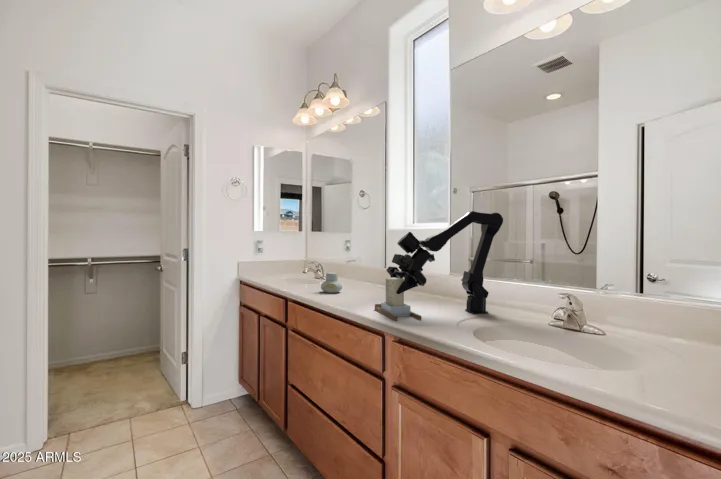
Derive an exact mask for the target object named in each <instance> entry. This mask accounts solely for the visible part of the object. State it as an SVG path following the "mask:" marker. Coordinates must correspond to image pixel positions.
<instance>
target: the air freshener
mask: <svg viewBox="0 0 721 479" xmlns="http://www.w3.org/2000/svg"><path fill="white" fill-rule="evenodd" d="M320 289H321V291H323V292H324V293H327V294H336V293H339V292H341V290H342V289H343V284H342V283H341V282H340V281H339V280H338V273H337V272H326V273H325V281H323V282H322V283H321V284H320Z"/></svg>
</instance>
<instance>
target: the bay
mask: <svg viewBox="0 0 721 479" xmlns="http://www.w3.org/2000/svg"><path fill="white" fill-rule="evenodd" d="M374 310H375V311H376V312H378V313H380V314H381V315H383V316H385V317H386V318H388V319H390V320H392V321H393V322H398V317H396V316H394V315H392V314H390V313H388V312H387V311H385V310H383V309H381V303H374ZM409 317H412V318H414V319H417V320H419V321H422V315H420V314H418V313H416V312H414V311H412V310H410V316H409Z"/></svg>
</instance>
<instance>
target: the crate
mask: <svg viewBox="0 0 721 479" xmlns="http://www.w3.org/2000/svg"><path fill="white" fill-rule="evenodd" d="M380 304H381V309H383V310H385V311H387V312H388V313H390V314H392V315H394V316H396V317H397V318H398V317H411V316H410V311H411V305H409V304H408V303H406V302H404V306H390V305H388V304H386V301H381V302H380Z"/></svg>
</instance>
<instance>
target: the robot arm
mask: <svg viewBox="0 0 721 479" xmlns="http://www.w3.org/2000/svg"><path fill="white" fill-rule="evenodd" d="M473 223H475V224H477V225H478V224H479V225H480V233H481V235H480V237H479V241H478V243H477V244H478V245H477V248H476V251H475V253H474V254H475V255H474V257H473V261H472V264H471V267H470V268H469V269H468V271H466V270H464V271H463V276H462V278H461V279H460V281H461V286H462V288H463V289H464V290H465V292H466V295H467V299H466V308H465V309H464V311H466V312H468V313H471V314H475V315H476V314H489V311H488V310H487V298H488V296H489V293H490V292H489V291H488V290H487V289H486V288H485V287H484V269H485V266H486V263H487V259H488V256H489V252H490V250H491V246H492V243H493V240H494V238H495V237H496V235H497V233H499V231H500V229H501V227H502V225H503V223H504V218H503V216H502V215H501V213H499V212H491V213H487V212H479V211H478V212H477V211H475V210H472V211H468V212H466V213H465V214H464V215H463V216H462V217H460V218H459V219H457V220H456V221H454V222H453V223H451V224H450V225H449V226H448V227H446V228H444V229H443V230H442V231H439V232H437V233H435V234H432V235H430V236H428V237H426V238H425V239H424V240H419V239H418V238H417V237H416V236H415V235H414V234H413V233H412V232H411V231H408V232H407V233H406V234H405V235H403V236H402V237H400V239H399V240H398V241H397V243H396V244H397V246H399V247H400V248H401V249H402V250H403V251H404V252H405V254H398V253H394V255H393V257H392V260H391V263H393V264H396V265H397V266H398V267H397V266H388V267H387V269H386V273H387V274H389V276H390V278H393V277H395V278H402V279H404V281H403V282H402V284H401V285H400V287H399V288H398V290H397V292H396V293H397V294H400V293H402V292H404V293H405V292H406V291H409V290H411V289H414V288H416V287H417V288H418V287H419V286H421V287H424V286H425V285H426V284H427V277H426V276H425V275H424V273H423V271H424V269H423V267H424V266H425V265H426V264H427V262H429V263H432V262H435V261H436V258H435V254H434V253H435V252H436V253H437V252H439V251H440V250H441V249H443V248H444V246H446V244H447V243H448V241H449V240H450V239H452V238H453V237H454V236H456V235H457V234H458V233H460V232H461V231H462V230H464V229H466V228H467V227H468V226H469V225H471V224H473ZM424 248H425V249H424ZM430 252H434V253H430ZM410 254H412V255H410Z"/></svg>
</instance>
